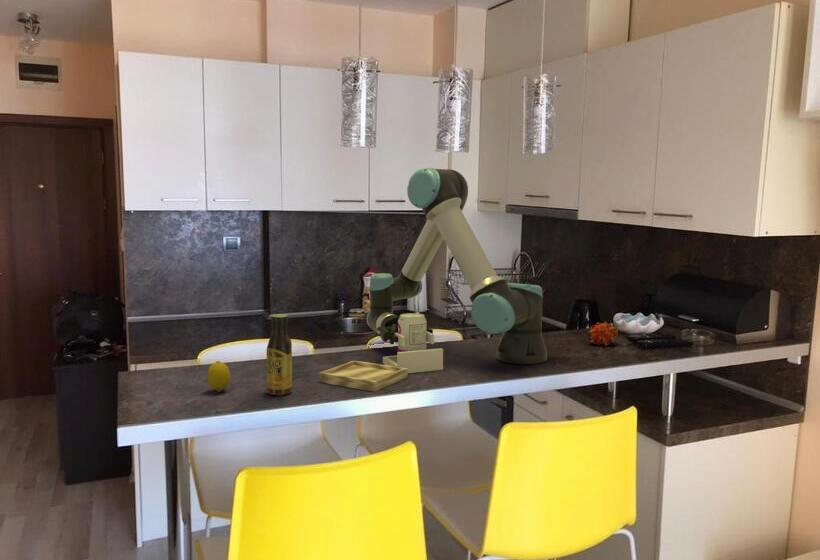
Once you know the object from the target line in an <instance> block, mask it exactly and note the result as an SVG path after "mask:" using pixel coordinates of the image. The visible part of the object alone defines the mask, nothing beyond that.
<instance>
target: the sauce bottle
mask: <svg viewBox="0 0 820 560" xmlns="http://www.w3.org/2000/svg"><path fill="white" fill-rule="evenodd" d="M270 321H271V334H270V337H269V340H268V342H267V347H266V391H267V394H268V395H271V396H278V397H280V396H285V395H288V394H290V393H291V392H292V385H293V384H292V383H293V353H292V351H293V350H292V348H293V346H292V345H293V344H292V340H291V339H292V338H290V336H289V334H288V321H289V317H288V314H284V313H279V314H278V313H277V314H273V315H271V320H270Z"/></svg>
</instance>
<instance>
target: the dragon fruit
mask: <svg viewBox="0 0 820 560" xmlns="http://www.w3.org/2000/svg"><path fill="white" fill-rule="evenodd" d="M589 329H590V330H589V331H588V333H587V334H586V337H587V338H588V339H589V340H590V343H591V345H593V346H594V345H595V346H600V345H603V344H604V347H606V346H609V345H612V342H616V341H618V340H619V338H617V337H619V328H618V327H617V326H615V324H614V323H613V322H610V323H608V322H607V321H606V320H603V323H600V322H596V323H595V324H594V325H591V326H590V328H589Z"/></svg>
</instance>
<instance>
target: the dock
mask: <svg viewBox="0 0 820 560" xmlns="http://www.w3.org/2000/svg"><path fill="white" fill-rule="evenodd" d="M382 365H388V366H395V367H402V368H408V374H414V373H424V372H425V373H426V372H432V371H433V372H434V371H442V370H444V349H443V348H431V349H430V348H429V349H426V350H418V351H407V352H398V351H397V355H389V356H388V355H387V356H382Z"/></svg>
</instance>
